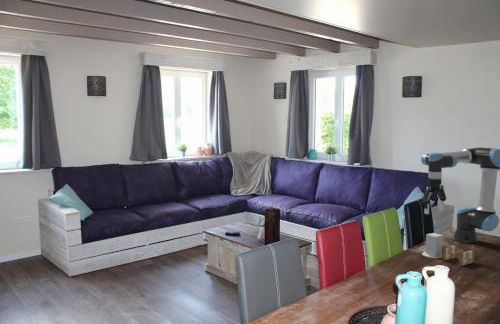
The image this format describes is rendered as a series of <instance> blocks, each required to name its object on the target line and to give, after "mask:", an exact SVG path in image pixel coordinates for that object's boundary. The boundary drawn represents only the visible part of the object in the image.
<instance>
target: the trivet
mask: <svg viewBox="0 0 500 324" xmlns="http://www.w3.org/2000/svg"><path fill="white" fill-rule="evenodd" d="M421 255H422V256H423V257H425V258H428V259H442V256H438V257H434V256H431V255H427V254H426V251H423V252H422V253H421Z"/></svg>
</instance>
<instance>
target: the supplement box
mask: <svg viewBox="0 0 500 324" xmlns="http://www.w3.org/2000/svg"><path fill="white" fill-rule="evenodd" d="M442 245H444V235H443V234H439V233H436V232H432V233H427V234H426V235H425V252H426V254H427V255H431V256H434V257H438V256H442Z"/></svg>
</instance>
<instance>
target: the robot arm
mask: <svg viewBox="0 0 500 324" xmlns="http://www.w3.org/2000/svg"><path fill="white" fill-rule="evenodd" d="M420 160H421V164H422V165H425V166H428V172H427V173H428V176H427V177H428V178H427V184H428V186H425V188H424V189H425V191H424V193H423V196H422V198H421V199H422V200H421V203H423V209H424V211H423V212H424V213H423V214H425V215H429V214H430V203H429V202H430V200H431V199H432V197H433V195H435V194H436V196H437V197H438V199H439V200H438V211H439V212H443V213H444V205H445V202H446V200H447V195H446V193H445V188H444V184H442V177H443V176H442V174H443V173H442V171H443V169H446V168H454V167H456V166H457V164H459V163H460V164H461V163H464V164H470V165H471V164H472V165H478V166H479V168H480V169H481V180H480V181H481V182H480V188H479V190H480V191H479V200H478V206H477V207H473V206H465V207H458V209H457V212H456V229H455V232H454V234H453V240H454V242H457V243H462V244H463V243H464V244H476V243H478V241H479V238H478V235H477V232H476V229H478V230H481V231H484V232H493V231H494V230H496V228H497V227H498V225H499V222H500V218H499V216H498V215H497V214H496V212H497V211H496V210H495V208H494V205H495V197H496V186H497V178H498V177H497V176H498V172H499V171H500V148H495V147H479V146H478V147H473V148H465V149H462V150H461V151H460V150H459V151H449V152H430V153H423V154H422V155H421V159H420Z"/></svg>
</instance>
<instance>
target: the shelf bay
mask: <svg viewBox="0 0 500 324" xmlns="http://www.w3.org/2000/svg"><path fill="white" fill-rule="evenodd" d="M454 258H455V259H456V258H458V266H460V267H462V266H465V265H469V264H470V265H471V264H474V263H475V247H474V246H470V249H469V250H467V251H464V249H458V242H457V241H454V242H452V246H447V245H445V244H443V245H442V258H441V261H447V260H452V259H454Z"/></svg>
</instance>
